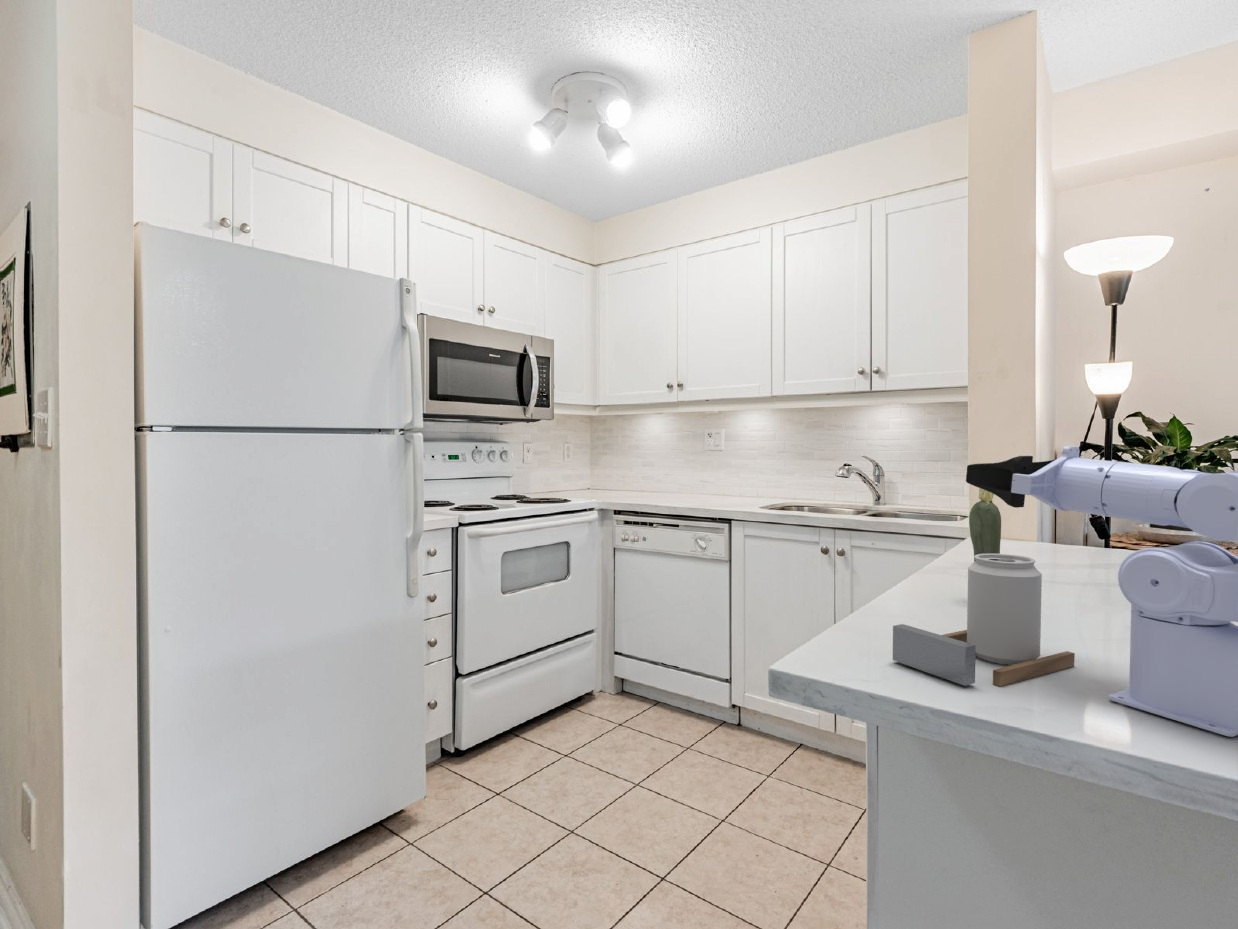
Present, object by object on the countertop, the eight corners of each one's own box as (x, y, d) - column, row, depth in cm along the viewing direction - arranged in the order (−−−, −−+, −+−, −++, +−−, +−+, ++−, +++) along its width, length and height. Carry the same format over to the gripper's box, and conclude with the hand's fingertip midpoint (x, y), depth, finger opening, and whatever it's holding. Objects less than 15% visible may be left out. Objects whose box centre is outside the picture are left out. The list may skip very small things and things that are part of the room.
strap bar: (974, 683, 68) (975, 645, 68) (964, 685, 67) (965, 647, 67) (902, 658, 76) (902, 624, 76) (892, 660, 75) (893, 625, 75)
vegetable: (1005, 608, 100) (1007, 477, 100) (976, 607, 101) (979, 477, 100) (989, 601, 105) (992, 476, 104) (962, 600, 105) (964, 476, 104)
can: (1027, 650, 80) (1029, 552, 80) (1050, 670, 73) (1052, 563, 73) (960, 645, 82) (961, 549, 82) (975, 664, 75) (977, 560, 75)
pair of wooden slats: (1074, 666, 74) (1074, 653, 74) (1000, 686, 68) (1000, 672, 68) (977, 639, 85) (977, 627, 85) (905, 654, 78) (905, 642, 78)
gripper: (1157, 450, 70) (1029, 439, 82) (1080, 451, 63) (952, 439, 75) (1149, 515, 70) (1023, 495, 82) (1072, 523, 64) (946, 500, 76)
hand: (988, 472), depth 79 cm, fingers open, 7 cm apart
